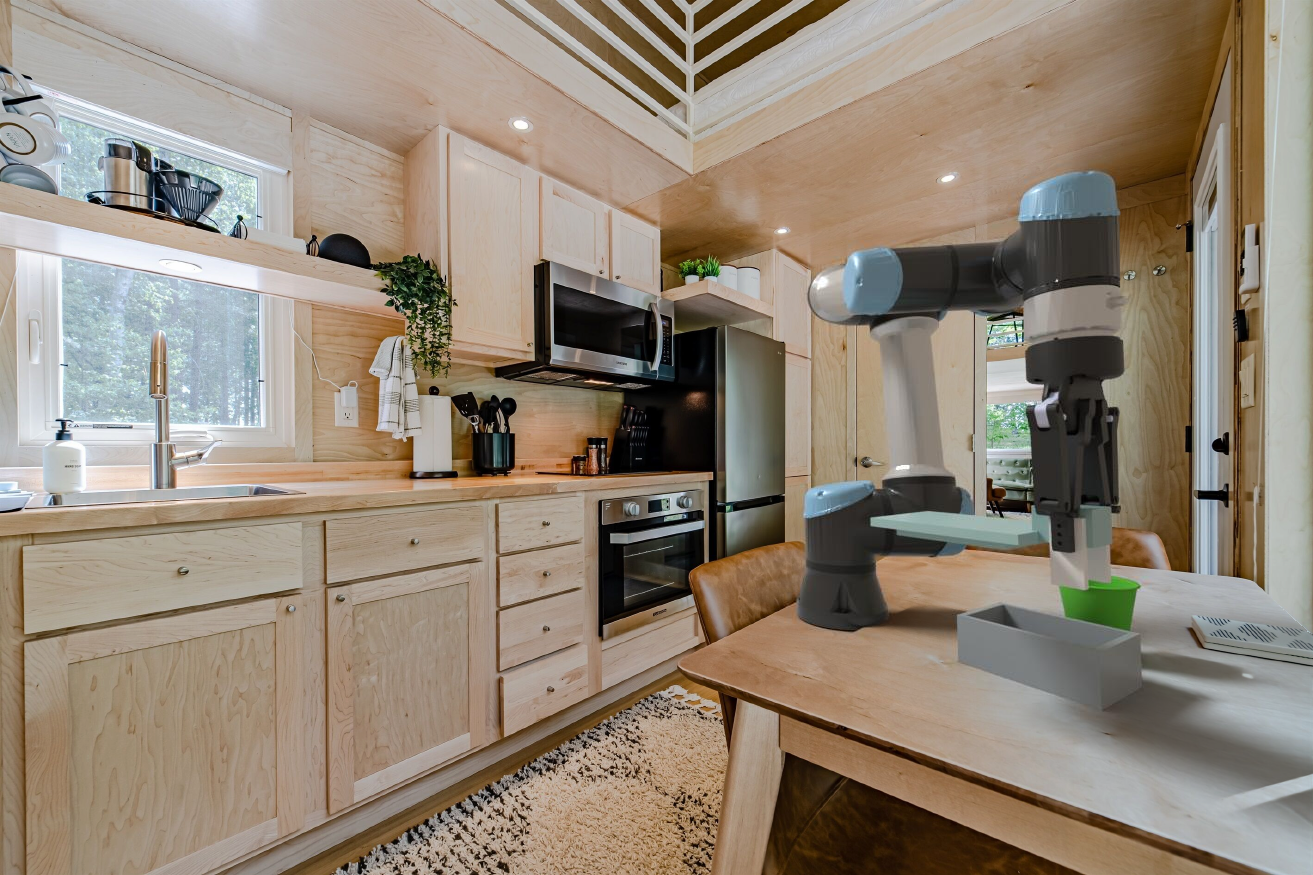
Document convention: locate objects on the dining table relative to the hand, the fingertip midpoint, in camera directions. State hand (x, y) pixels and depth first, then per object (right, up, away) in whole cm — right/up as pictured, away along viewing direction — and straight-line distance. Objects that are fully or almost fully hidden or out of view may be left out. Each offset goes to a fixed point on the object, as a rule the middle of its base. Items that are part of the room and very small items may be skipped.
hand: (1081, 582), depth 51 cm
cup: (+19, -17, +21) cm, 33 cm away
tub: (+8, -16, +16) cm, 24 cm away
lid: (-4, +3, +8) cm, 9 cm away
